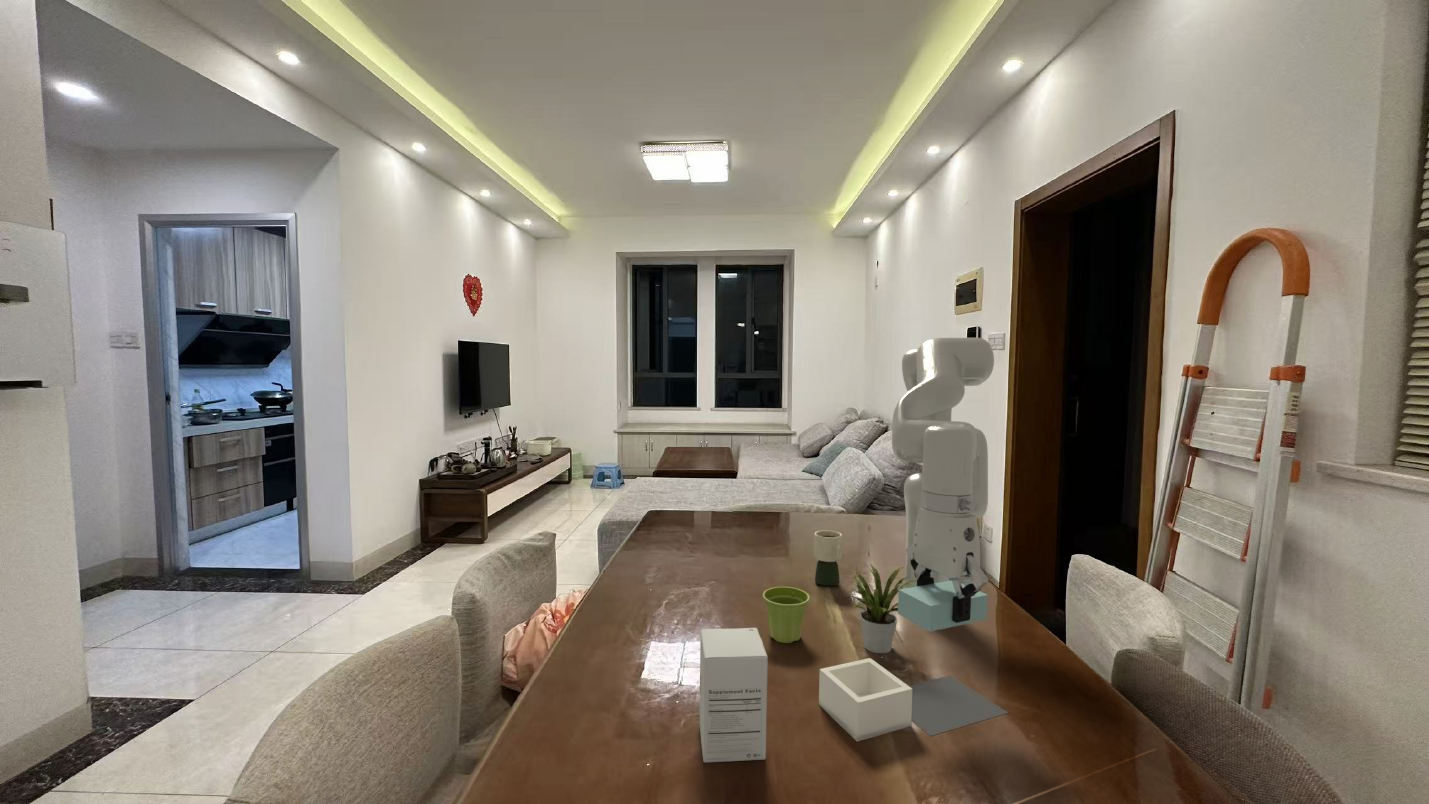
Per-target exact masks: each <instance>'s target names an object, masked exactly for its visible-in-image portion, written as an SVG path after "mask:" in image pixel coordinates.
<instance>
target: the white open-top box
mask: <svg viewBox="0 0 1429 804" xmlns="http://www.w3.org/2000/svg"><path fill="white" fill-rule="evenodd" d="M818 678H819V683H818V685H819V686H818V705H819V707H821V709H823V710H824V711H825V712H826V713H827V714H828V715H829V716H830V717H831V718H832V719H833V720H834V721H835V722H836V723H837V724H839V726H840V727H841V728H843V729H844V730H845V732H846V733H847V734H848V735H850V736H851V738H853V739H854V741H856V742H860V741H861V742H862V741H864V740H868V739H871V738H875V737H878V736H881V735H884V734H888V733H892V732H895V731H899V730H902V729H907V728H910V727H912V721H911V714H912V688H911V687H909V686H910V685H908V684H907V683H905V682H904V681H903V680H901V679H900V678H898V677H897V676H895V675H894V674H893V673H891V672H890V671H889V670H887V669H886V668H885V667H883V666H882V665H880V664H879V663H878V662H876V661H875V660H874V659H872V658H871V657H869V658H864V659H859V660H855V661H850V662H846V663H841V664H837V665H836V664H835V665H832V666H828V667H823V668H819V677H818Z"/></svg>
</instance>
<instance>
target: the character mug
mask: <svg viewBox="0 0 1429 804" xmlns="http://www.w3.org/2000/svg"><path fill="white" fill-rule="evenodd" d="M813 534H814V535H813V542H814V543H813V558H814V559H816V560H818V561H817V562H816V568H815V575H814V576H815V577H814V581H815V584H818V585H823V586H829V587H831V586H833V585H834V586H837V585H840V583H841V582H840V571H839V570H840V569H839V564H838V562H839V561H840V560H841V559H842V558H843V553H842V549H843V534H842V533H841V532H839V531H835V530H818V531H815V532H814V533H813Z"/></svg>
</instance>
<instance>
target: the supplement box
mask: <svg viewBox="0 0 1429 804" xmlns="http://www.w3.org/2000/svg"><path fill="white" fill-rule="evenodd" d="M699 644H700V648H699V649H700V650H699V651H700V654H699V655H700V656H699V657H700V658H699V661H700V662H699V732H700V743H701V752H702V759H703V760H702V762H703V763H705V764H706V763H719V762H721V763H723V762H739V761H742V762H744V761H759V760H760V761H761V760H762V761H763V760H766V759H767V757H766V755H767V750H766V749H767V712H768V711H767V708H768V707H767V705H768V702H767V701H768V665H769V664H768V654H767V652H766V648H765V646H764V643H763V640H762V637H761V635H760V633H759V630H758V627H746V628H745V627H743V628H703V629H701V630H700V643H699Z"/></svg>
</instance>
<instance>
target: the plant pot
mask: <svg viewBox="0 0 1429 804" xmlns="http://www.w3.org/2000/svg"><path fill="white" fill-rule="evenodd" d="M762 597H763V600H764V603H765V605H766V609H767V610H766V611H767V619H768V626H769V634H770V638H771V639H774V640H775V641H776V642H778V643H783V644H791V643H793V642H795V641H796V642H797V641H799V640H800V639H801V635H802V629H803V623H804V617H805V611H806V608H807V607H808V606H807V605H808V603H809V601H810V595H809V593H807V592H806V591H805V590H802V589H800V588H796V587H793V586H792V587H791V586H775V587H770V588H767V589H765V590H764V591H763V593H762Z"/></svg>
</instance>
